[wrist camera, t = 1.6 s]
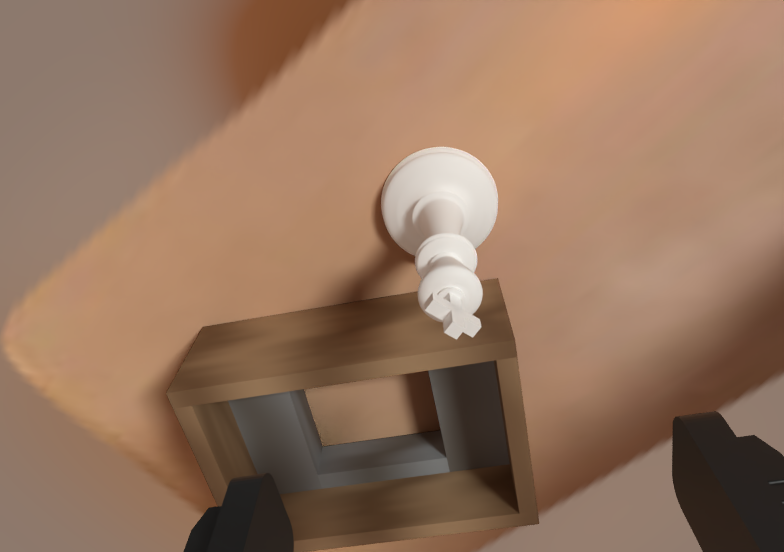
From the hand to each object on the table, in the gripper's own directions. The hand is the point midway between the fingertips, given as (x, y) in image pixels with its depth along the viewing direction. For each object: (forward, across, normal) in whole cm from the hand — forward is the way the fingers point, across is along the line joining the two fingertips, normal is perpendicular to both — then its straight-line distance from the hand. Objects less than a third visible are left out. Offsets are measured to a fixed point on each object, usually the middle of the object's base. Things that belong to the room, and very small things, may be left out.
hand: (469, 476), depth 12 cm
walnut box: (+15, +5, +9) cm, 19 cm away
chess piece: (+16, 0, 0) cm, 16 cm away
